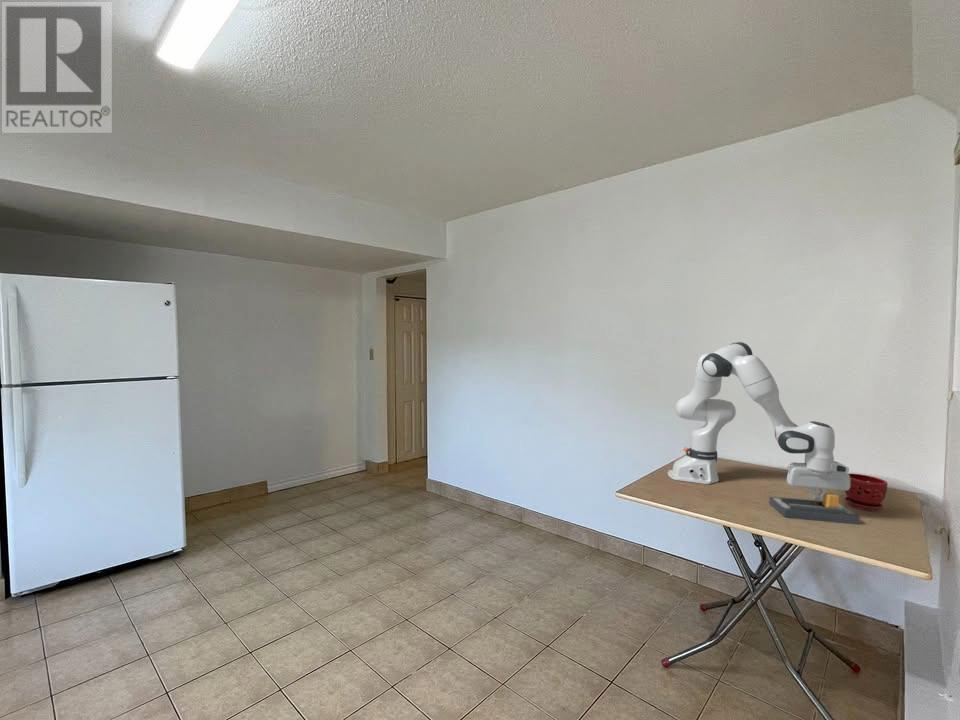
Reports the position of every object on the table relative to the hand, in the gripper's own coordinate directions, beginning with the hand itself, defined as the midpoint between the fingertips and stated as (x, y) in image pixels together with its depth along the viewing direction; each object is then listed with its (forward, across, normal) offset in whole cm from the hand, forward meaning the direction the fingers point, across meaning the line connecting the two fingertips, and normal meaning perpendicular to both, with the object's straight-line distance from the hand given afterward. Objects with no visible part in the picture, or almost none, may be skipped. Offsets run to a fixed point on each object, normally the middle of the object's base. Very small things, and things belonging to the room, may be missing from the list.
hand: (816, 499), depth 168 cm
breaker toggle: (+3, +4, 0) cm, 5 cm away
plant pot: (+6, +23, +14) cm, 28 cm away
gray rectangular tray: (+6, -2, 0) cm, 6 cm away
